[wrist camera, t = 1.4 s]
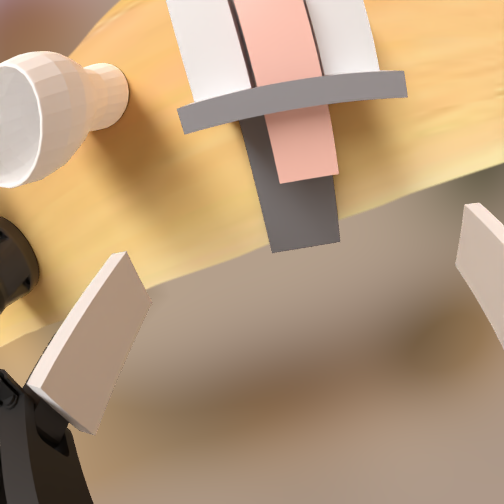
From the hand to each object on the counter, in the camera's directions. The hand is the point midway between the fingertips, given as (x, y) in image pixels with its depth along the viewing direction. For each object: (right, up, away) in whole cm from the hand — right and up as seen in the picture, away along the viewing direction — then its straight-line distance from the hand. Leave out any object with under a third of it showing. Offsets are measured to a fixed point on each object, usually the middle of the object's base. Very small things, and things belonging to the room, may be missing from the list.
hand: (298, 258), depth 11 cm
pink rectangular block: (+1, +14, +10) cm, 17 cm away
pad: (+3, +8, +20) cm, 22 cm away
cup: (-18, +17, +16) cm, 29 cm away
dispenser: (0, +20, +12) cm, 23 cm away
